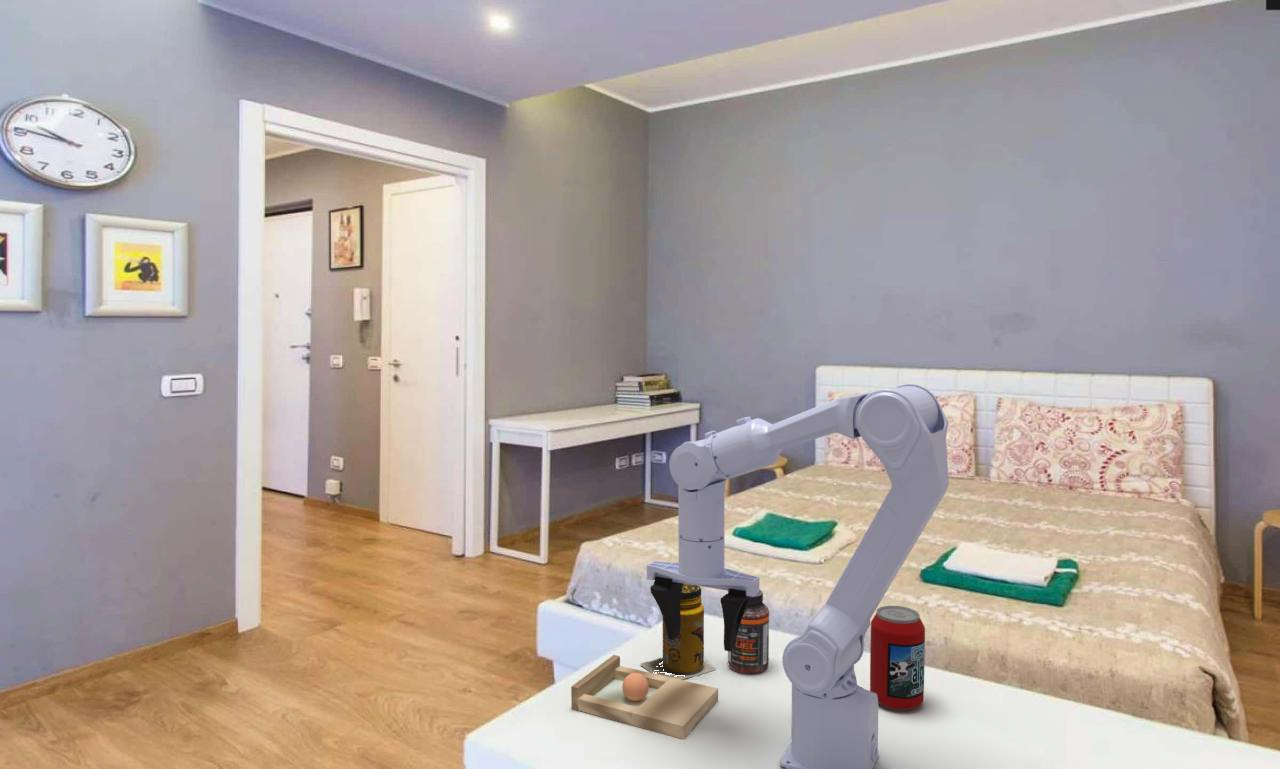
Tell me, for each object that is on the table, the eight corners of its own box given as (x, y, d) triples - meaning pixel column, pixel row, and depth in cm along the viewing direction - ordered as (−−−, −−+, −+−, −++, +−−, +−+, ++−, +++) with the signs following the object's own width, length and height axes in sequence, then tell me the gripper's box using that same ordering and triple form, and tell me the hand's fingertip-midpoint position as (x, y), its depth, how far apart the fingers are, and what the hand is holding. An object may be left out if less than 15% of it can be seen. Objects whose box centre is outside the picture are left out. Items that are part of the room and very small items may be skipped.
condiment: (716, 670, 111) (716, 588, 110) (668, 685, 106) (668, 600, 105) (686, 652, 117) (685, 575, 116) (639, 666, 112) (639, 586, 111)
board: (718, 700, 102) (718, 678, 101) (683, 739, 92) (683, 714, 92) (614, 675, 109) (613, 654, 109) (571, 708, 99) (571, 686, 99)
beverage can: (905, 719, 96) (907, 626, 95) (859, 700, 101) (860, 611, 101) (933, 703, 100) (935, 613, 100) (888, 685, 106) (889, 600, 105)
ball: (643, 664, 102) (625, 675, 104) (631, 674, 99) (612, 686, 101) (658, 687, 101) (639, 698, 103) (645, 698, 98) (627, 710, 100)
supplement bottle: (724, 672, 110) (724, 595, 109) (731, 656, 115) (731, 582, 115) (766, 678, 108) (766, 599, 107) (771, 660, 114) (771, 586, 113)
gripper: (767, 535, 95) (767, 641, 96) (663, 522, 102) (663, 621, 103) (748, 549, 89) (747, 663, 90) (638, 534, 96) (639, 640, 97)
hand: (701, 642), depth 96 cm, fingers open, 7 cm apart
